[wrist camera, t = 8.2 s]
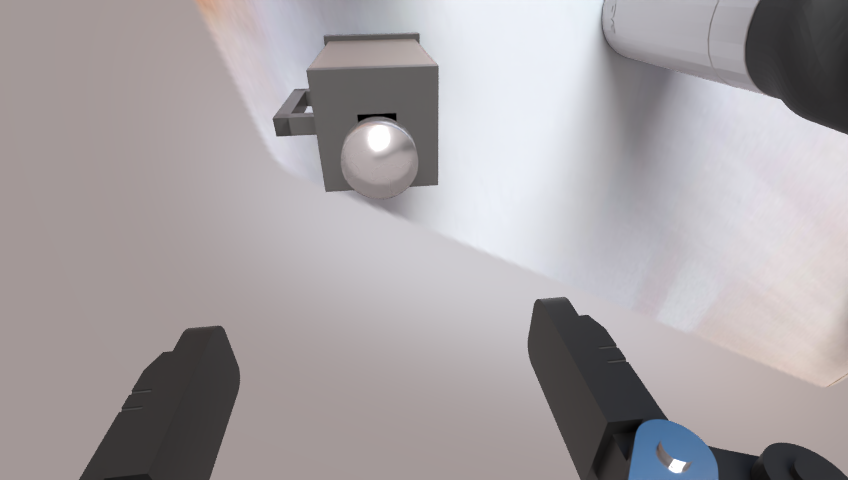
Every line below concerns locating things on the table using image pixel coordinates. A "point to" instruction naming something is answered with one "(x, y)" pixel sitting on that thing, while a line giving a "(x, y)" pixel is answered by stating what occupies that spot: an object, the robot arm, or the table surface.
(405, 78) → the gray handled box
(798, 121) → the table surface
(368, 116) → the plunger
